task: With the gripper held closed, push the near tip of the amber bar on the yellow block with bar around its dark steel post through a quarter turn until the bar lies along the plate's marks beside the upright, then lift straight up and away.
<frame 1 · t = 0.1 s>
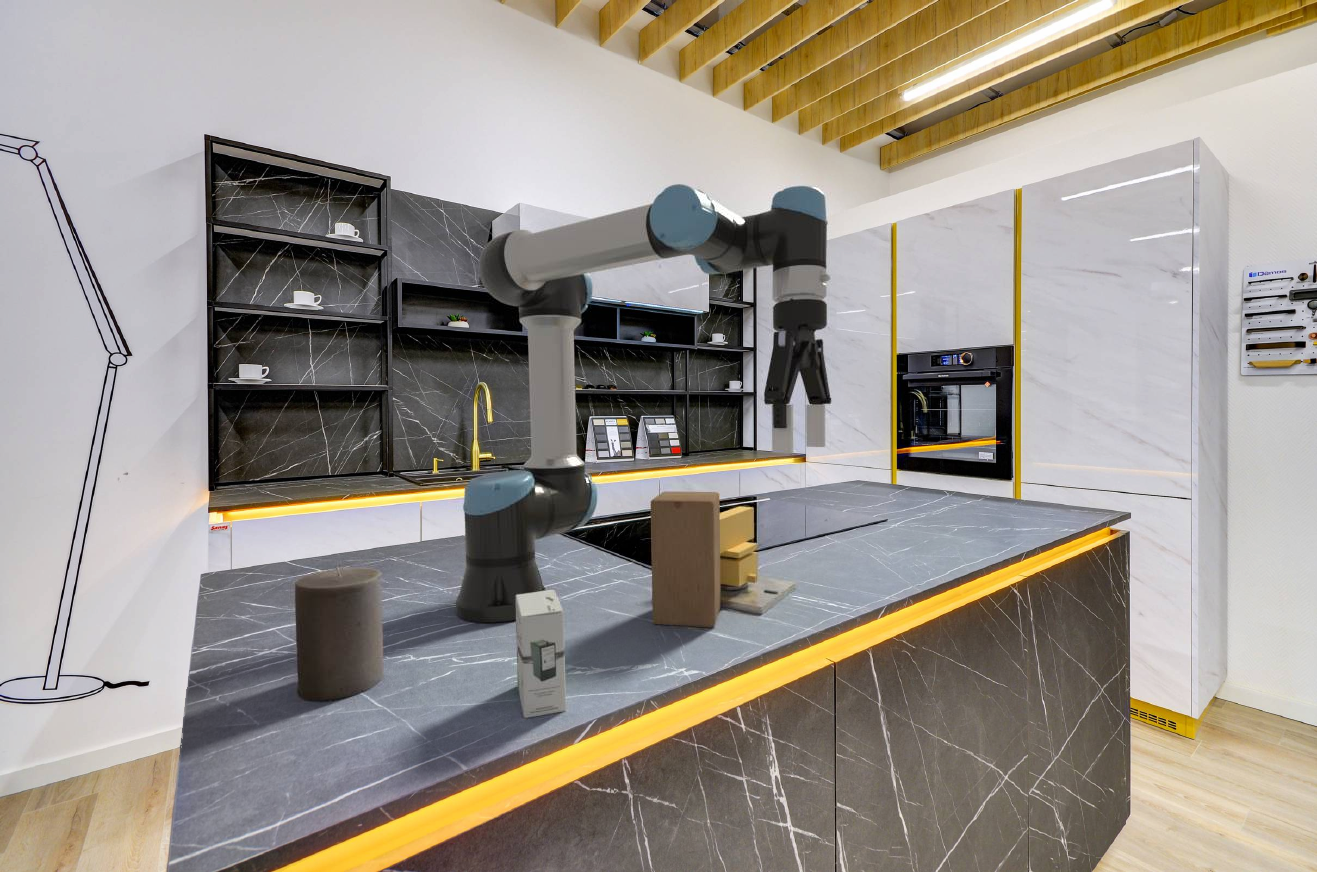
hand: (800, 449, 83), 28 cm above the counter, fingers open, 13 cm apart
wooden block: (687, 616, 95), on the counter
base: (729, 591, 107), on the counter
ink box: (540, 699, 69), on the counter
pillar candle: (343, 684, 73), on the counter
yellow block with bar: (728, 545, 107), point 9 cm above the counter, hinge at 0.0°
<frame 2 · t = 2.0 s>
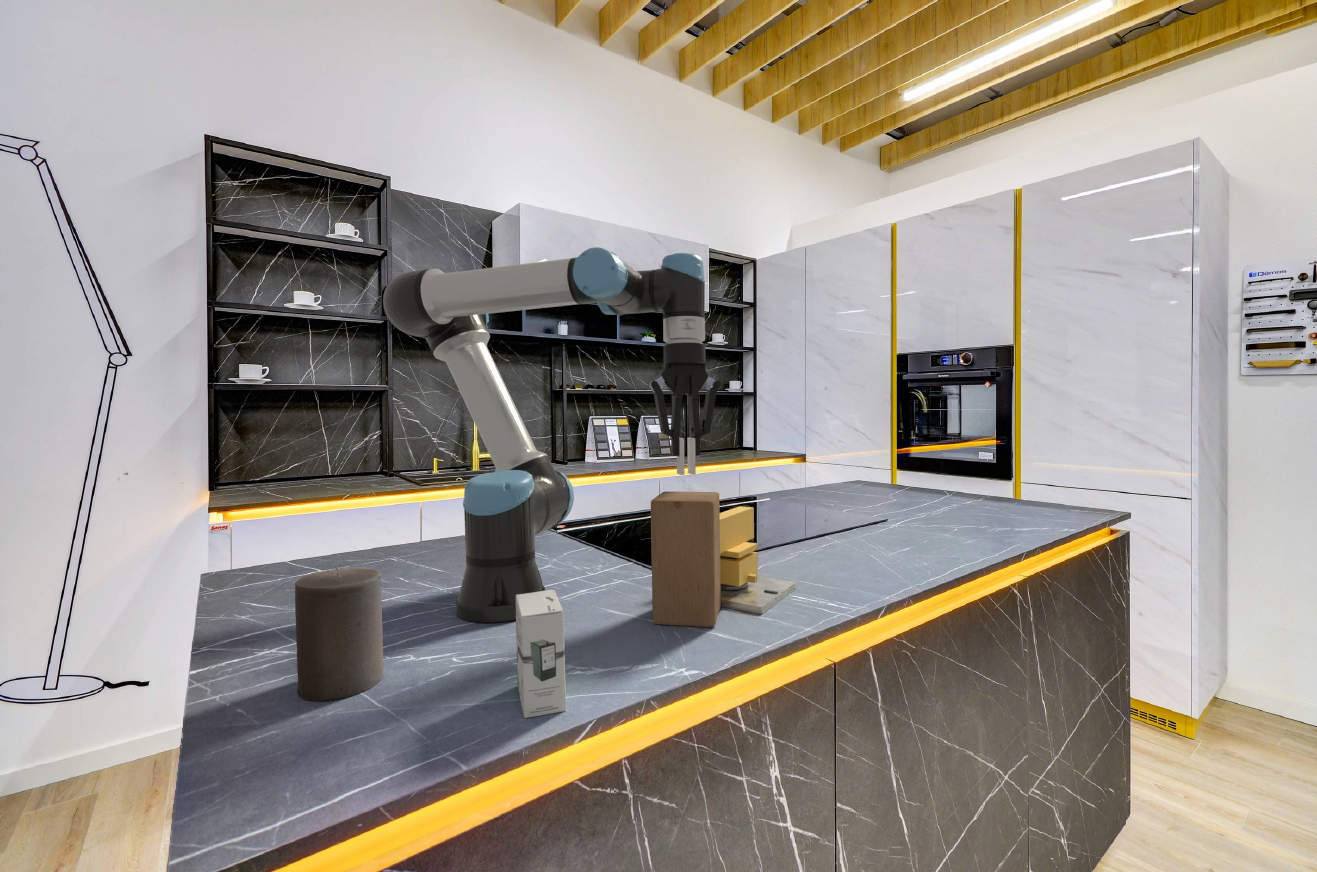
hand: (686, 473, 105), 22 cm above the counter, fingers closed
nothing on the counter moved.
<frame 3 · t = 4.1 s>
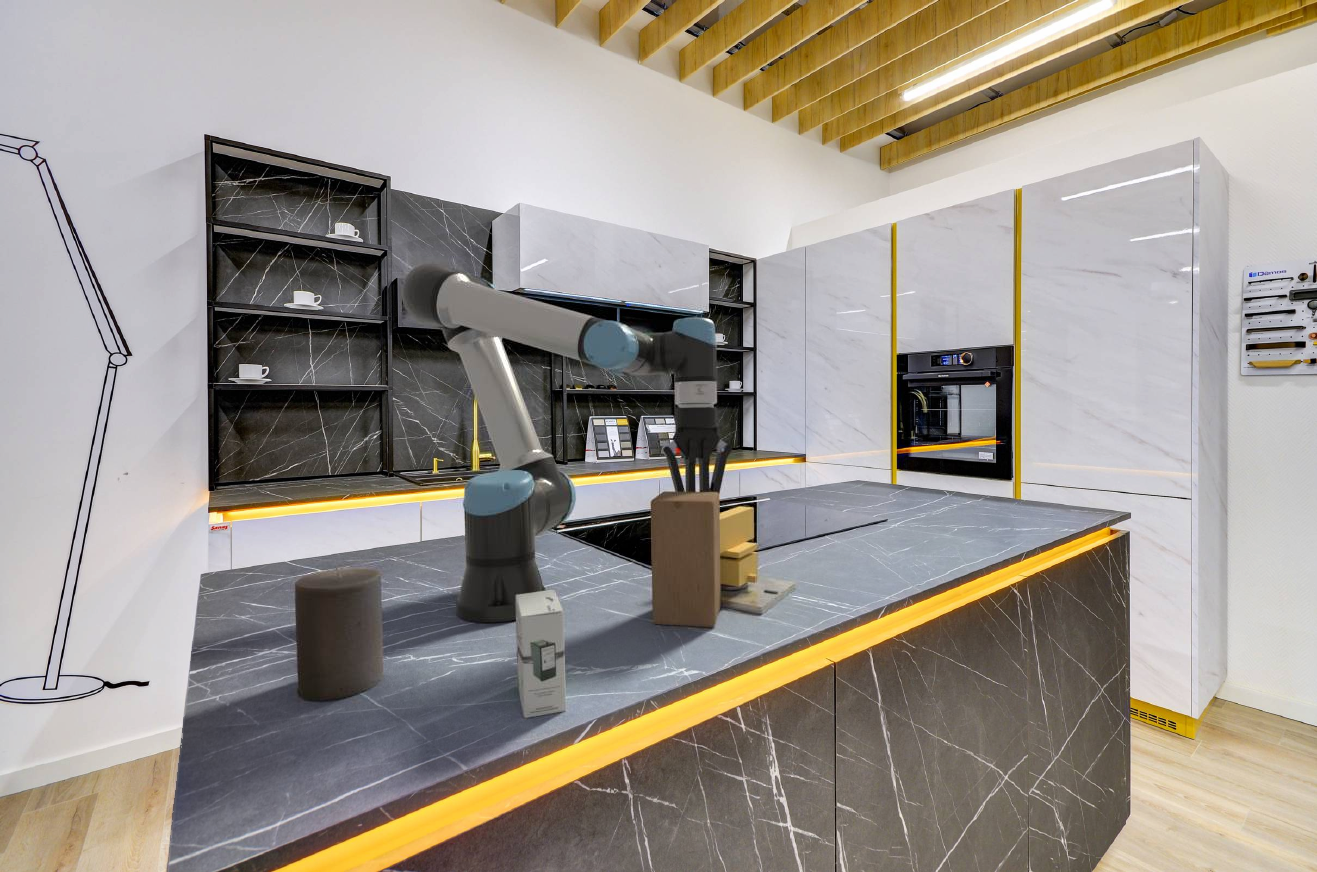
hand: (698, 537, 104), 11 cm above the counter, fingers closed
yellow block with bar: (728, 545, 107), point 9 cm above the counter, hinge at 0.0°, touching gripper
everything else where it was.
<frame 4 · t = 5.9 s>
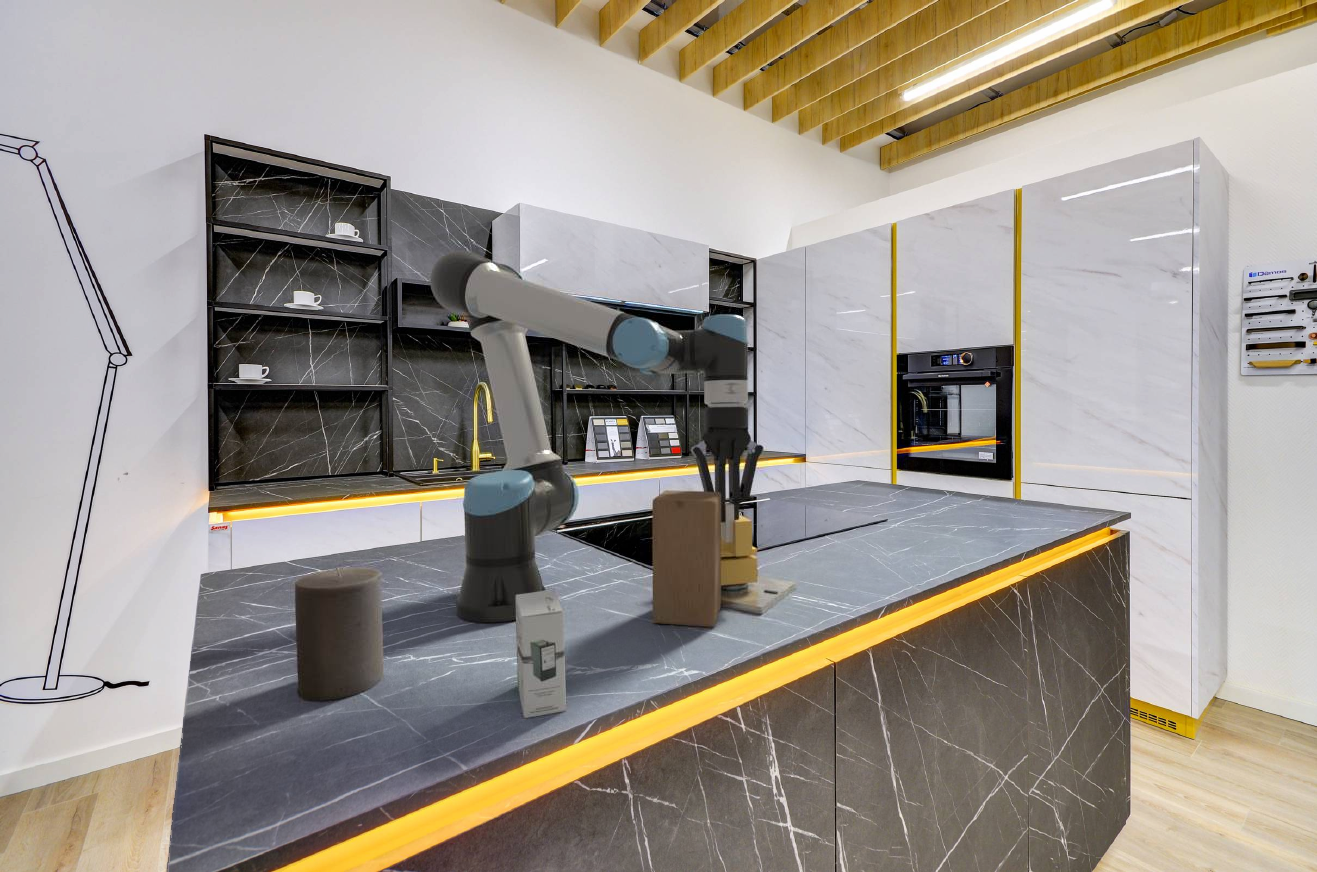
hand: (727, 540, 101), 11 cm above the counter, fingers closed
wooden block: (687, 616, 95), on the counter, touching hand
yellow block with bar: (728, 545, 107), point 9 cm above the counter, hinge at 45.9°, touching gripper
everything else where it was.
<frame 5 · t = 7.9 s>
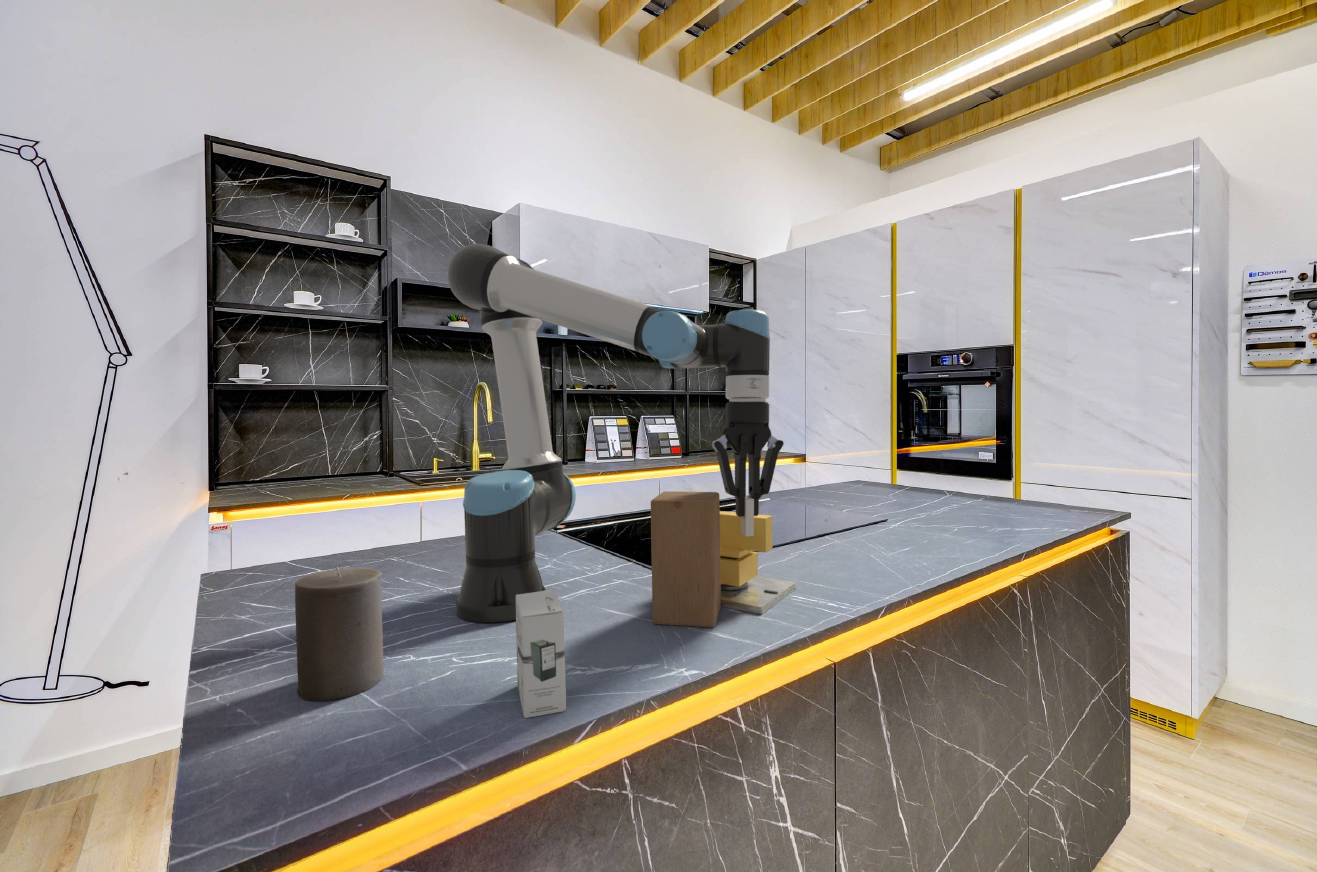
hand: (747, 534, 102), 12 cm above the counter, fingers closed
wooden block: (688, 616, 95), on the counter
yellow block with bar: (728, 545, 107), point 9 cm above the counter, hinge at 90.2°, touching gripper
everything else where it was.
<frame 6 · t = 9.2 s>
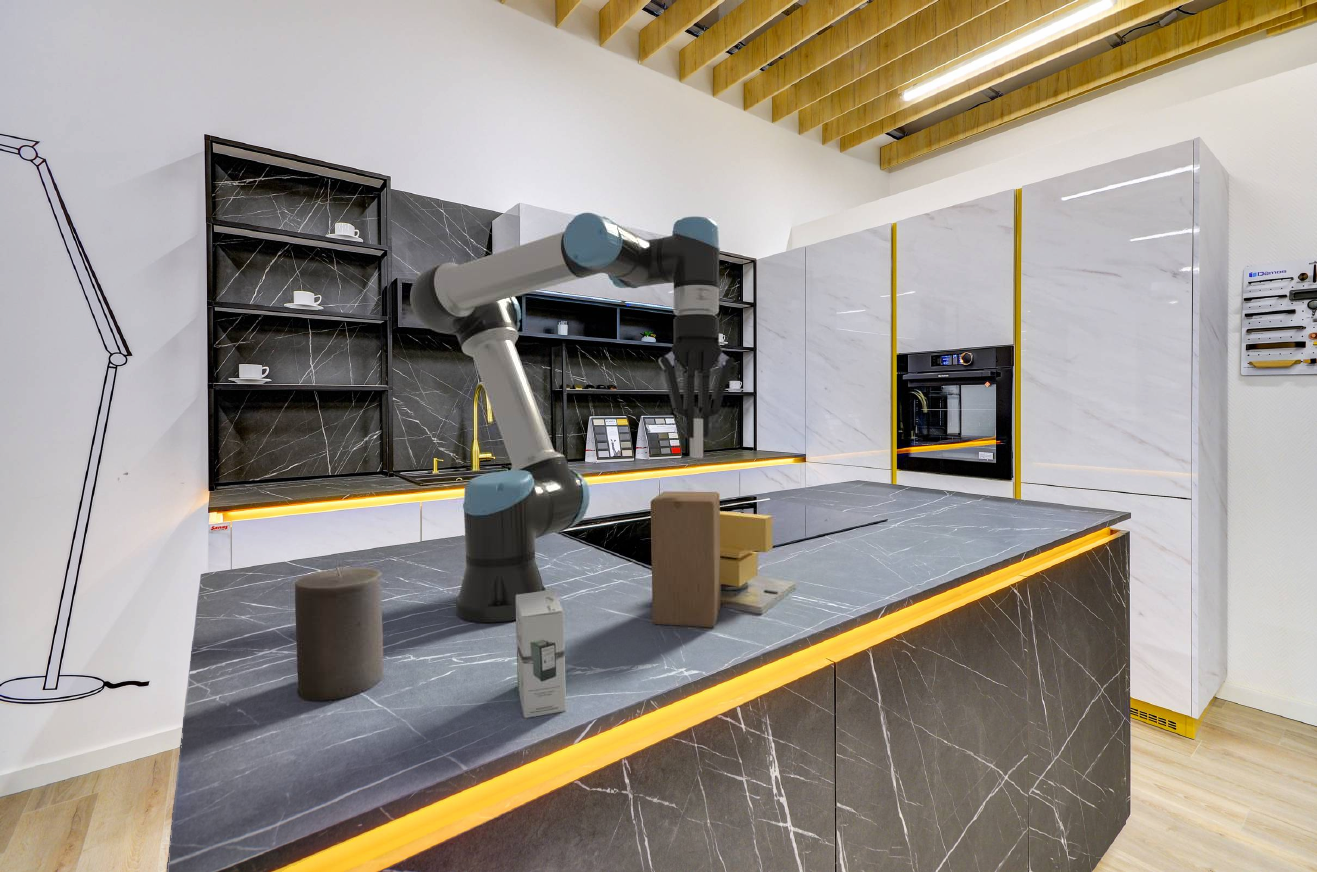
hand: (696, 457, 97), 26 cm above the counter, fingers closed
yellow block with bar: (728, 545, 107), point 9 cm above the counter, hinge at 90.2°
everything else where it was.
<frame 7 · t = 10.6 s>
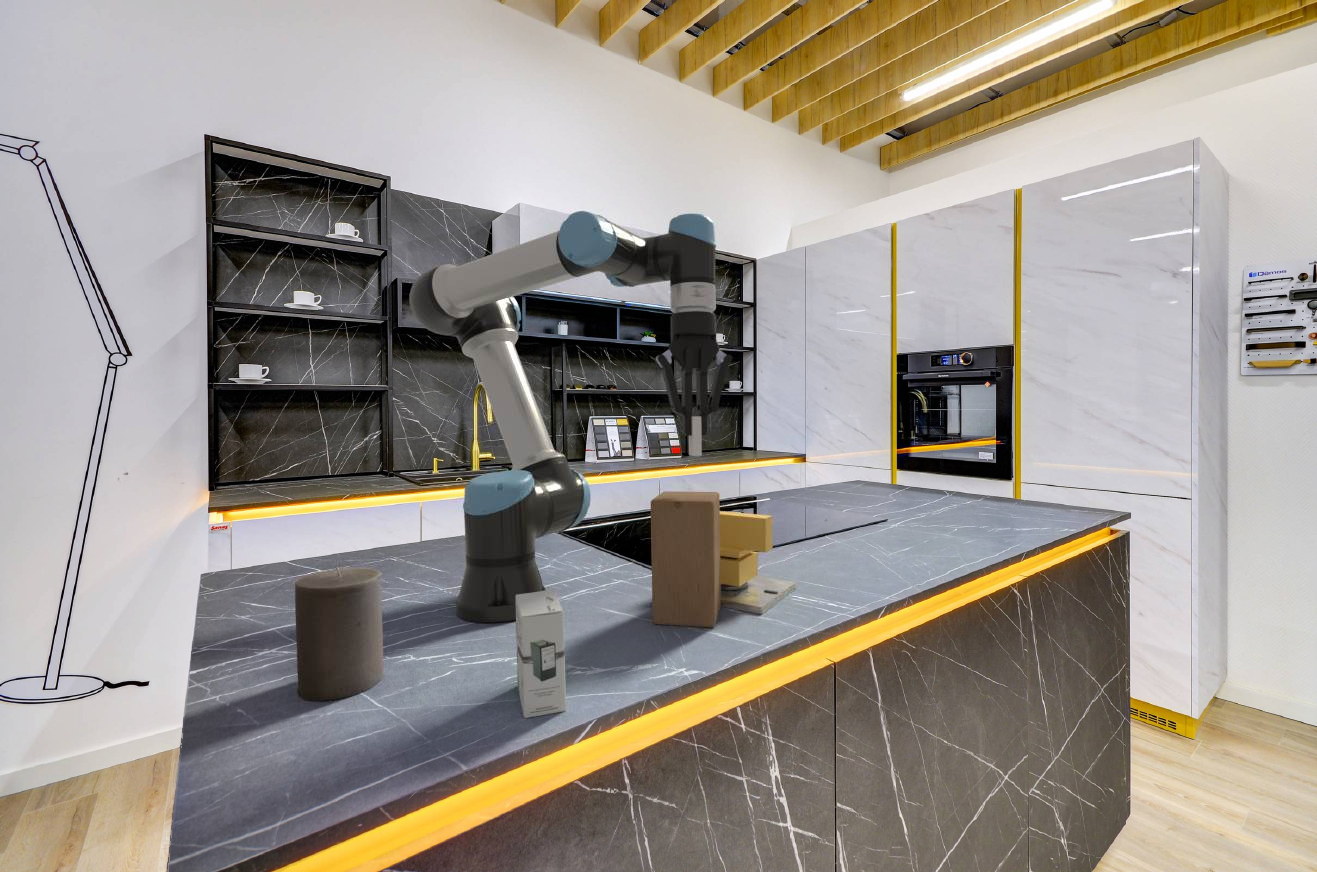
hand: (695, 455, 96), 26 cm above the counter, fingers closed
nothing on the counter moved.
at the end: yellow block with bar at +90° (first picture: +0°) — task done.
